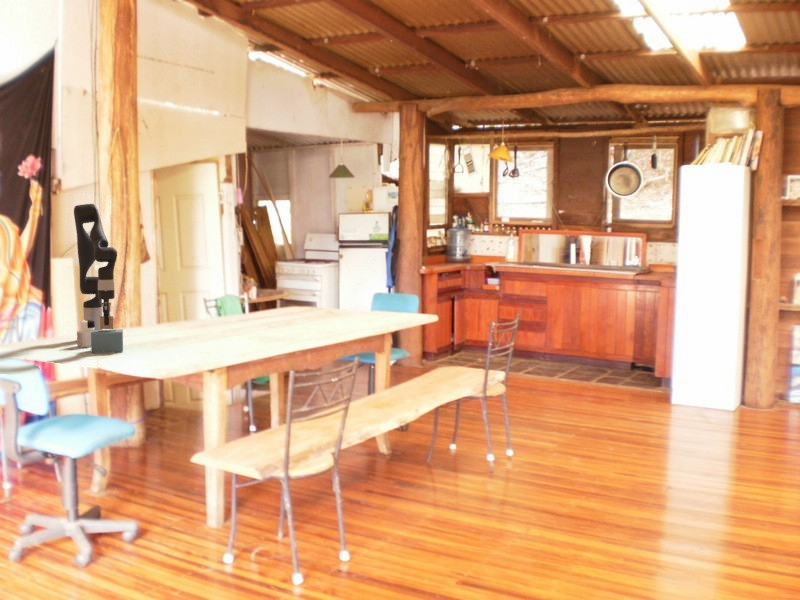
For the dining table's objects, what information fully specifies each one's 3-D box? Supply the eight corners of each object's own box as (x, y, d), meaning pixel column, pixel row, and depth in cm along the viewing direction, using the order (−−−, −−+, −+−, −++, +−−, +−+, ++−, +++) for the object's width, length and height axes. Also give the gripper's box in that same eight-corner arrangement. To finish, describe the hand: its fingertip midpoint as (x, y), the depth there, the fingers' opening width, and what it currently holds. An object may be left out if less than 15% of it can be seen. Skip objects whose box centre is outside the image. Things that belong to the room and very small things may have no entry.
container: (91, 344, 417) (90, 319, 416) (99, 346, 412) (98, 320, 411) (76, 346, 411) (76, 320, 410) (85, 347, 406) (84, 321, 405)
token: (100, 328, 395) (100, 316, 395) (113, 328, 397) (113, 316, 396) (100, 329, 394) (99, 316, 393) (113, 328, 395) (113, 316, 395)
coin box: (92, 350, 399) (92, 330, 398) (123, 349, 403) (122, 329, 402) (91, 353, 390) (90, 332, 389) (122, 352, 394) (122, 332, 393)
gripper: (98, 287, 399) (99, 323, 401) (96, 290, 386) (97, 326, 388) (115, 287, 401) (115, 323, 403) (113, 290, 388) (114, 326, 390)
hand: (106, 324), depth 395 cm, fingers closed on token, 1 cm apart
